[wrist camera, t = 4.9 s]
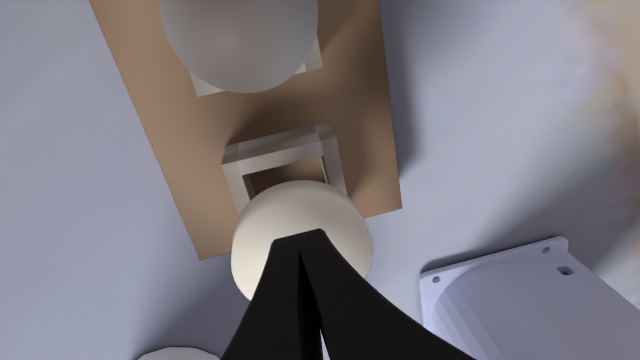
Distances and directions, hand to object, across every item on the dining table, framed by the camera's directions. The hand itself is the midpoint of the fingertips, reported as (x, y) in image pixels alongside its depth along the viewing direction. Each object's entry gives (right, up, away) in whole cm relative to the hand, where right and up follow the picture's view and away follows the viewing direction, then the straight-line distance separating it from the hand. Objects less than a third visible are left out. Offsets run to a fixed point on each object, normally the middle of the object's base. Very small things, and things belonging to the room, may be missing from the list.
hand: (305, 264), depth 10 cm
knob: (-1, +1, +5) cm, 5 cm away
